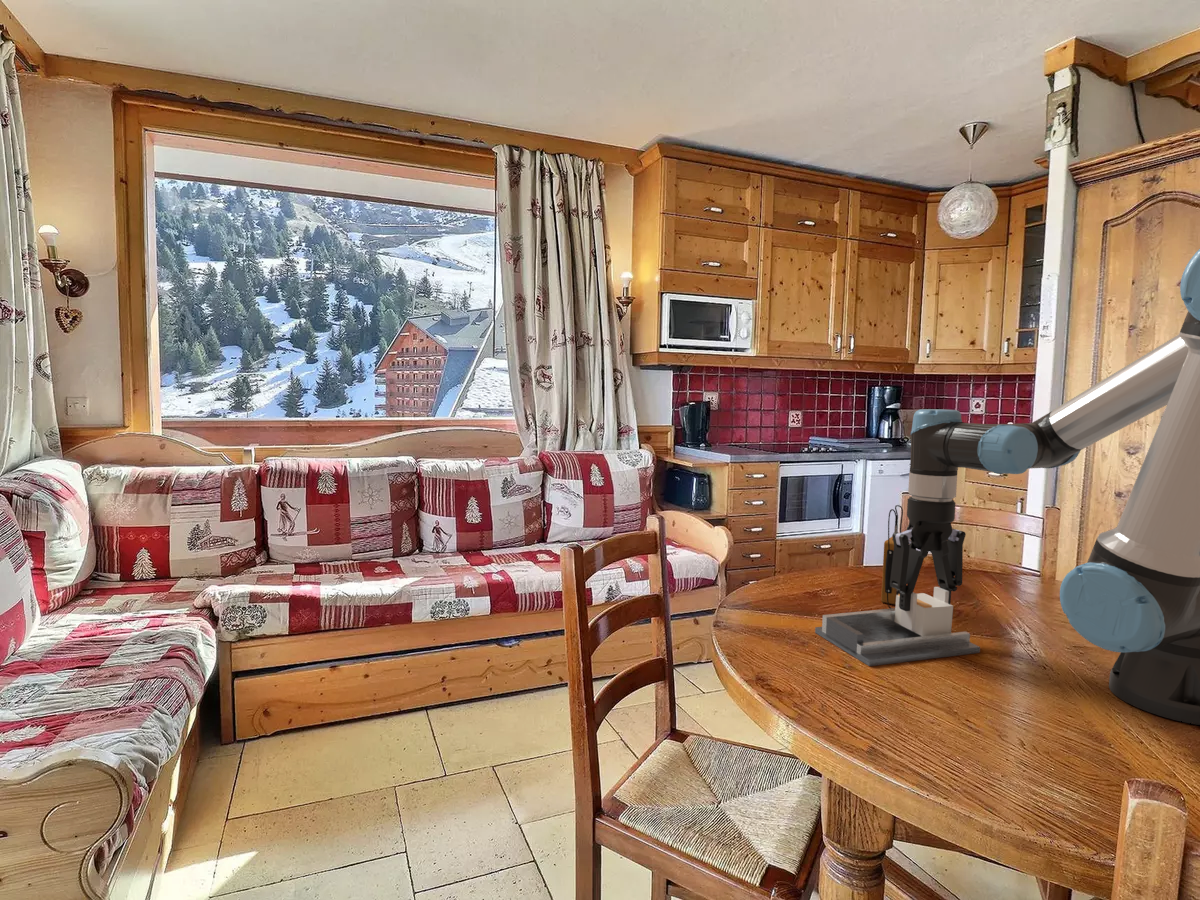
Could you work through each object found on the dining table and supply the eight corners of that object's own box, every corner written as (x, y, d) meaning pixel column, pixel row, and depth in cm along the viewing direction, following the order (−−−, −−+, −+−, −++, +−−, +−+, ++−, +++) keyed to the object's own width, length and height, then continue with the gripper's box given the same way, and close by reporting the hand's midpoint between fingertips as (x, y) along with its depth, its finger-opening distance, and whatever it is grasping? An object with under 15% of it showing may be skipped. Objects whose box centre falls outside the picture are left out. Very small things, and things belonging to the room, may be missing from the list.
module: (950, 633, 117) (953, 604, 116) (922, 636, 115) (924, 606, 114) (921, 619, 123) (923, 591, 123) (894, 621, 122) (896, 593, 121)
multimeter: (929, 618, 130) (935, 517, 128) (875, 607, 136) (880, 510, 134) (944, 599, 141) (949, 506, 139) (894, 590, 147) (899, 501, 145)
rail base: (979, 652, 113) (981, 629, 113) (869, 666, 107) (870, 642, 107) (915, 622, 128) (916, 601, 127) (815, 632, 122) (815, 611, 121)
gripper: (959, 492, 123) (951, 614, 125) (870, 496, 118) (864, 623, 120) (993, 499, 116) (983, 628, 118) (900, 503, 110) (893, 638, 113)
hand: (923, 625), depth 119 cm, fingers closed on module, 6 cm apart
